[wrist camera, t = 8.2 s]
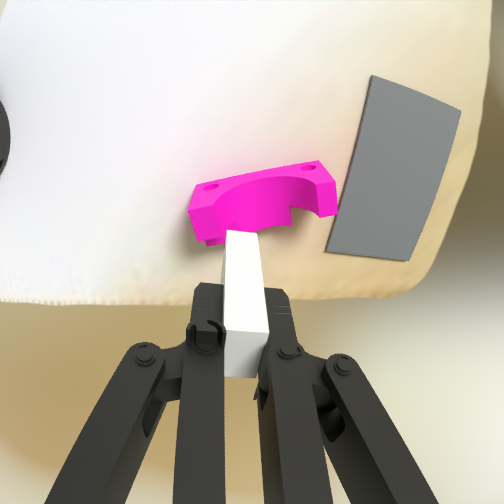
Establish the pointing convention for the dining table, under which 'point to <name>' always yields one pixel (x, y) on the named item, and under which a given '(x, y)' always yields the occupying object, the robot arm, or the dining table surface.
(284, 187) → the magenta bearing cap
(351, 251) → the pad
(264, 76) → the dining table surface
